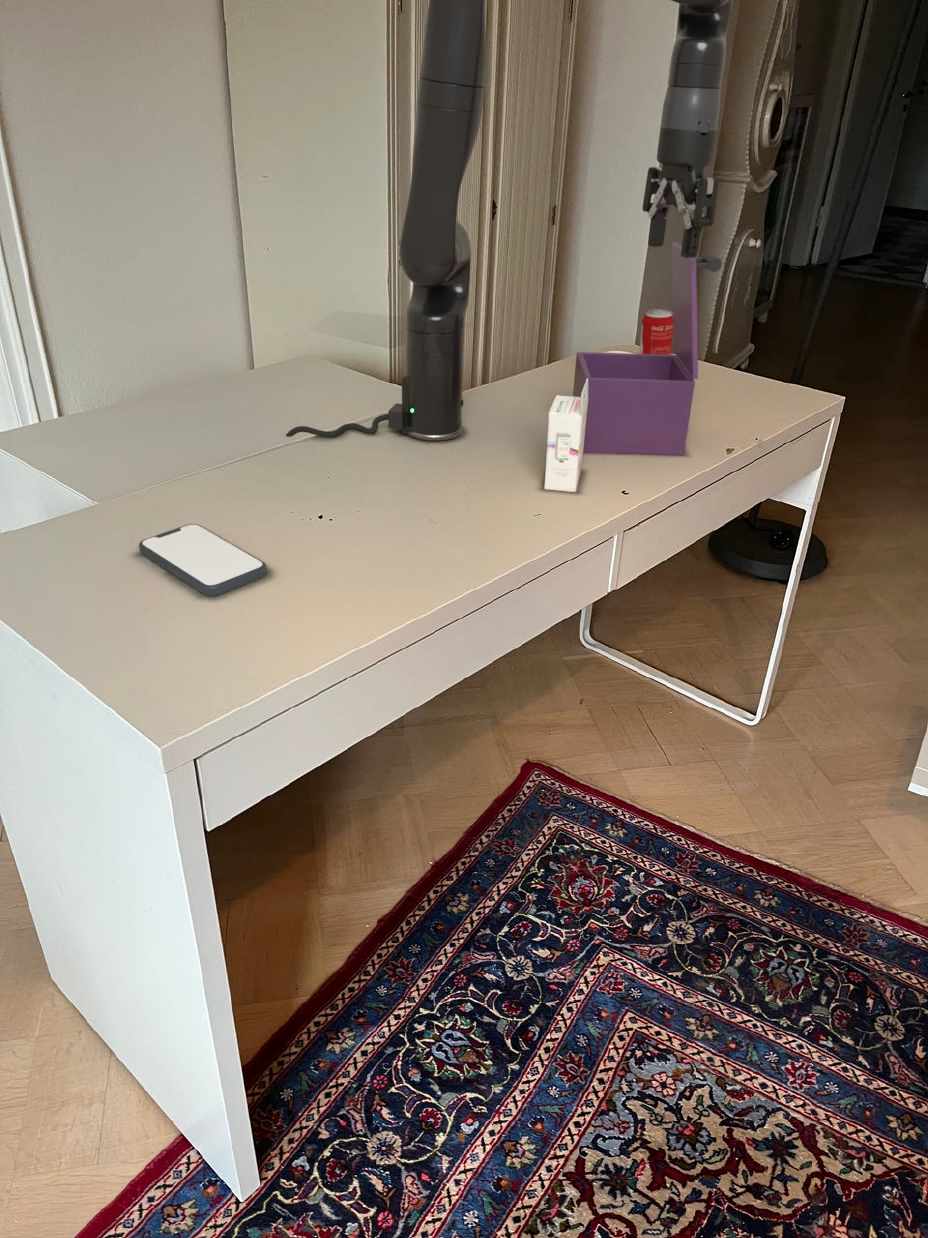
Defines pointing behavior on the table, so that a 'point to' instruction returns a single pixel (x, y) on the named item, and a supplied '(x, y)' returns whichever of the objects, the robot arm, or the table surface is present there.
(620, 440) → the box
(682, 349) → the lid
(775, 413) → the table surface
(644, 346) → the beverage can
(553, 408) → the ink cartridge box
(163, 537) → the smartphone
